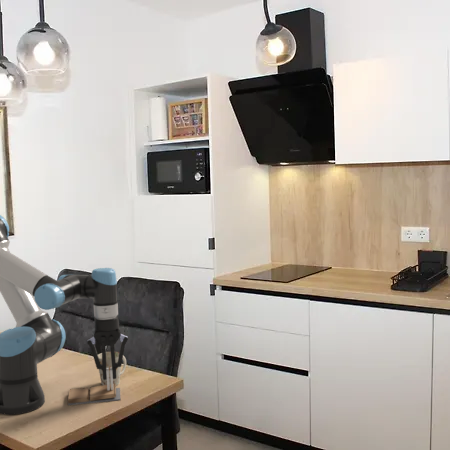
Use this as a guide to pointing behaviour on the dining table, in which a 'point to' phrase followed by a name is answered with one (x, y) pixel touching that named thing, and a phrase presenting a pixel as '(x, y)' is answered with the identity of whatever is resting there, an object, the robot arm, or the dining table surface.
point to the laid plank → (79, 395)
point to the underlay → (101, 399)
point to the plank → (102, 392)
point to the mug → (109, 364)
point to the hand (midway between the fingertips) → (110, 388)
